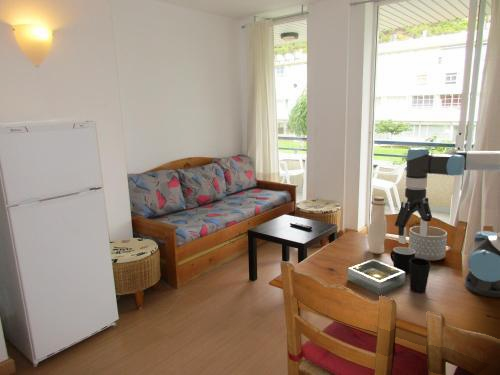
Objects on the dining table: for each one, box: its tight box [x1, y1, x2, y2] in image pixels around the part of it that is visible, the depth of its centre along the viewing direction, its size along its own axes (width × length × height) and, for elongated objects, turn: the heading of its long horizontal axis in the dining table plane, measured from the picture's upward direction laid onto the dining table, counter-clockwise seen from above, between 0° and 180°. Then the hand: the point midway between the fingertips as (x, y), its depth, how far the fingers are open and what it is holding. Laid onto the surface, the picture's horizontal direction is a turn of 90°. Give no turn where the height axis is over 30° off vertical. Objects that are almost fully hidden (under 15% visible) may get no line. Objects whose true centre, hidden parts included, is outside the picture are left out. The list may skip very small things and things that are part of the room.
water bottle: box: [366, 195, 388, 255], centre depth 185 cm, size 10×9×28 cm
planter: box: [407, 225, 448, 262], centre depth 179 cm, size 16×16×13 cm
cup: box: [409, 257, 432, 294], centre depth 145 cm, size 8×8×12 cm
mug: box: [389, 246, 416, 276], centre depth 163 cm, size 12×9×10 cm
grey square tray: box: [347, 258, 406, 296], centre depth 153 cm, size 16×16×6 cm
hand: (412, 239), depth 147 cm, fingers open, 13 cm apart
